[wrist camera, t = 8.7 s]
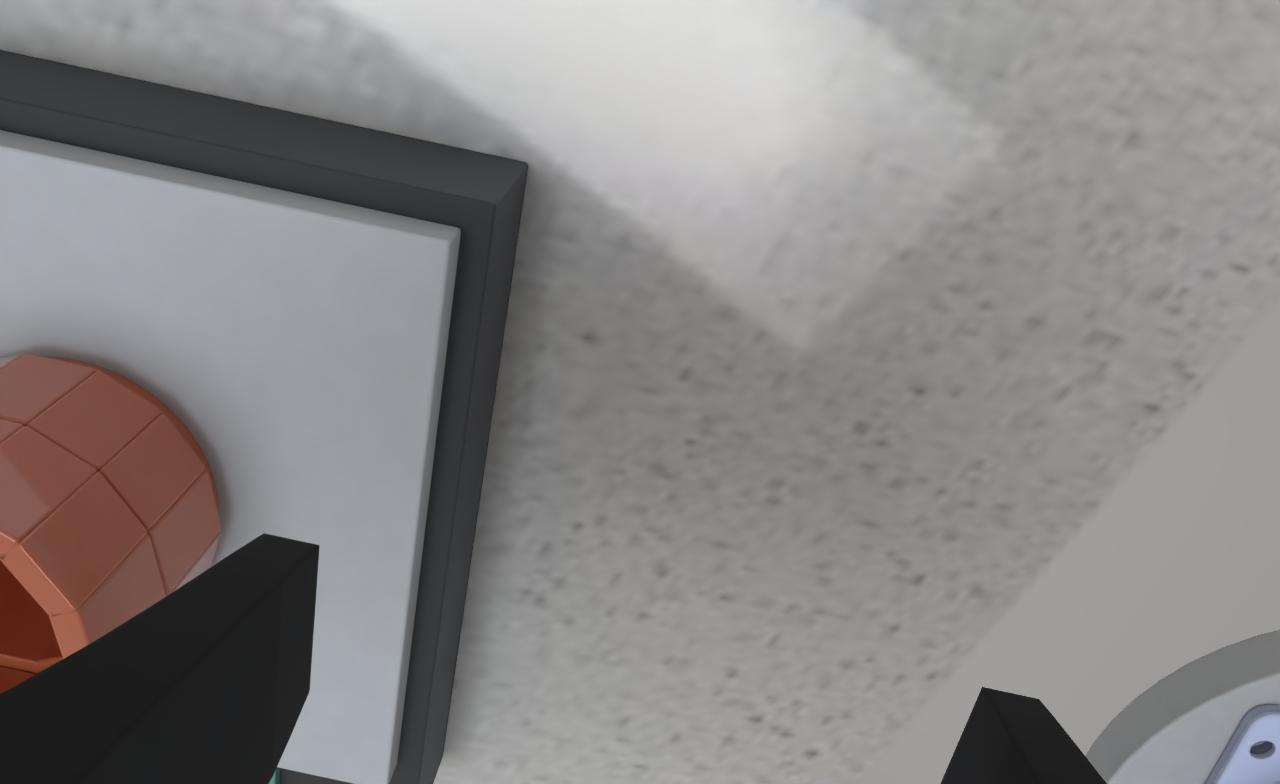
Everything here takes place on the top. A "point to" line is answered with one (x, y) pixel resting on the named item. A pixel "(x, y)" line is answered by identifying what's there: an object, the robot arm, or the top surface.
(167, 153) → the scale
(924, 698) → the top surface
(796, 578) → the top surface
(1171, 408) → the top surface
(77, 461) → the flower pot
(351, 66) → the top surface
